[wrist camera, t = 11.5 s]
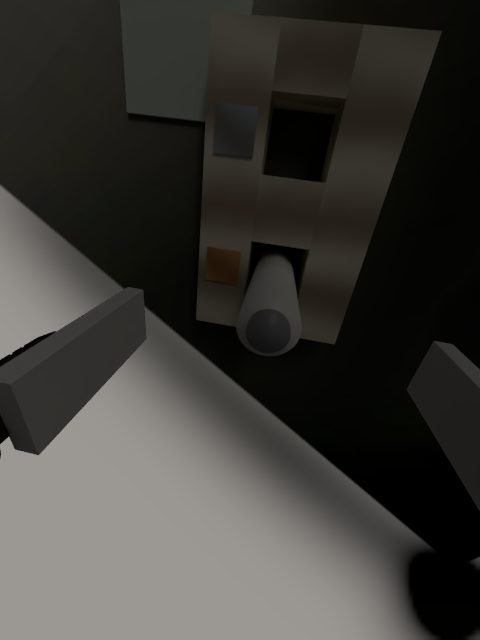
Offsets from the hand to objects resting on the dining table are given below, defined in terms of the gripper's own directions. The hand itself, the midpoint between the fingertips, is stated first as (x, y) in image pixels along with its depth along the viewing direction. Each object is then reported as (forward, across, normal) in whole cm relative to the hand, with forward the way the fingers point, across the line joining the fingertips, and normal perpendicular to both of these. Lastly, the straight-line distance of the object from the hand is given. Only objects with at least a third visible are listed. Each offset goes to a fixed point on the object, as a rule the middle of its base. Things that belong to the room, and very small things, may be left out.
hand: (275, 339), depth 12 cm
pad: (+16, -10, +15) cm, 25 cm away
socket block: (+16, 0, +4) cm, 17 cm away
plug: (+16, 0, -1) cm, 16 cm away
